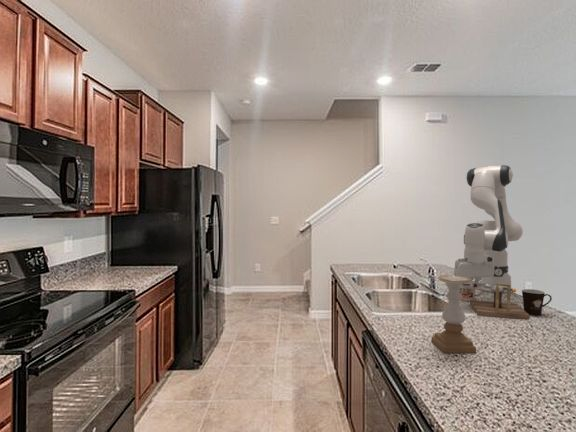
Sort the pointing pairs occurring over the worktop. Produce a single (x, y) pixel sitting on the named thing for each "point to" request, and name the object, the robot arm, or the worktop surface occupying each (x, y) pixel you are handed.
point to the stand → (499, 306)
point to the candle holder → (453, 319)
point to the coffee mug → (533, 301)
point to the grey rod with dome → (493, 287)
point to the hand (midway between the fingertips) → (473, 287)
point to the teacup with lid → (468, 292)
